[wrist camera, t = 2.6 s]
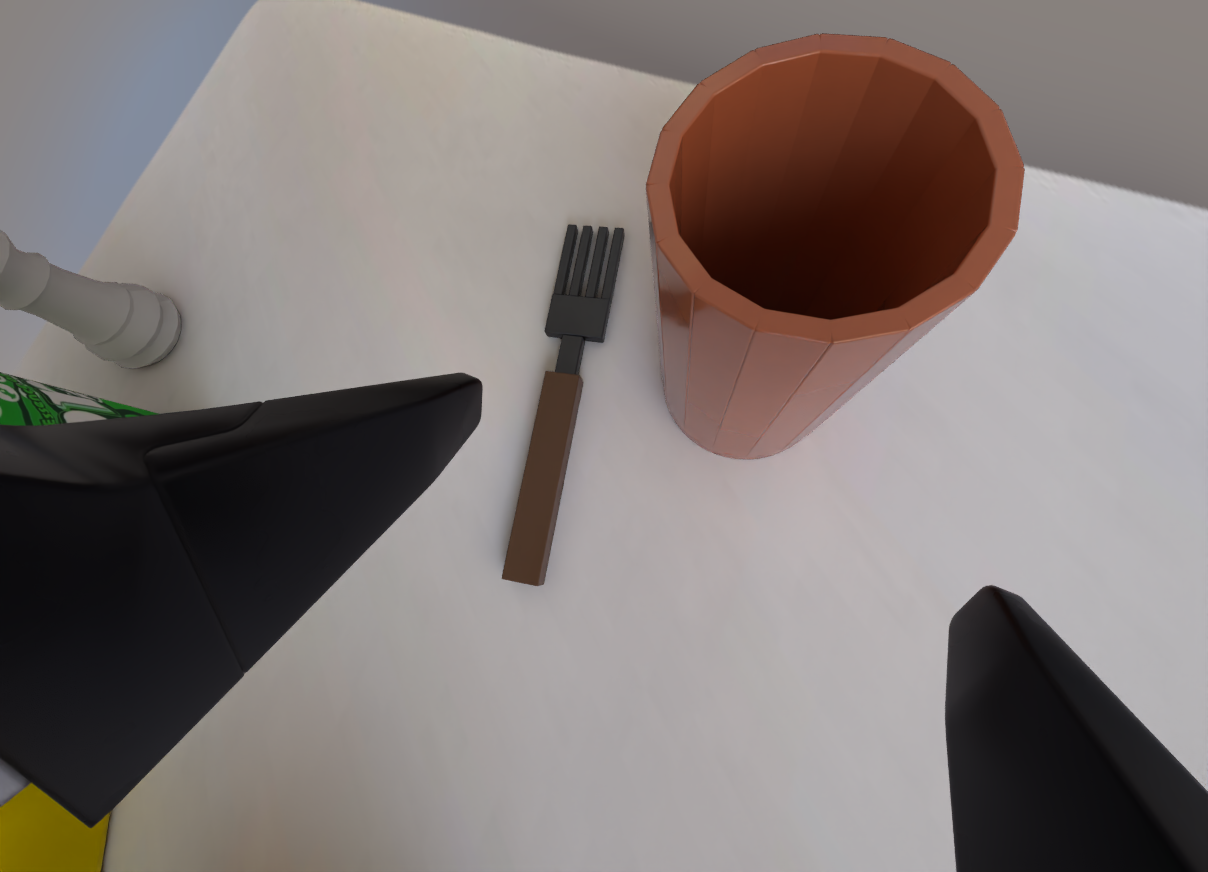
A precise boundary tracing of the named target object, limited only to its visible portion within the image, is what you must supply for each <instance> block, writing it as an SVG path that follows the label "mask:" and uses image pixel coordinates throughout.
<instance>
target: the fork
mask: <svg viewBox="0 0 1208 872" xmlns="http://www.w3.org/2000/svg"><path fill="white" fill-rule="evenodd" d="M577 234H578V229H577V226H576V225H570V224H569V225H568V228H567V233H566V237H565V242H564V247H563V251H562V256H561V260H560V265H559V270H558V274H557V279H556V284H555V288H554V293H553V295H552V299H551V304H550V309H549V313H548V318H547V322H546V327H545V333H546V335H547V336H548V337H557V338H562V340H561V345H560V350H559V355H558V359H557V364H556V369H555V372H551V371H546V372H545V377H544V381H543V386H542V391H541V395H540V400H539V405H538V409H537V414H536V419H535V424H534V428H533V433H532V438H531V442H530V447H529V452H528V457H527V461H526V466H525V471H524V475H523V480H522V485H521V489H520V494H519V499H518V504H517V508H516V513H515V518H514V522H513V527H512V532H511V536H510V541H509V546H508V551H507V555H506V560H505V565H504V569H503V574H502V579H505V580H510V581H514V582H519V583H524V584H529V585H534V586H539V585H543V584H544V581H545V576H546V571H547V566H548V560H549V555H550V550H551V545H552V540H553V535H554V530H555V525H556V520H557V515H558V509H559V504H560V499H561V494H562V489H563V484H564V479H565V474H566V469H567V463H568V458H569V453H570V448H571V443H572V438H573V433H574V428H575V423H576V418H577V412H578V407H579V402H580V397H581V392H582V387H583V381H582V379H581V377H580V375H578V374H579V369H580V364H581V359H582V354H583V349H584V344H585V341H592V342H601V343H603V342H604V339H605V334H606V328H607V323H608V318H609V313H610V307H611V303H612V297H613V292H614V287H615V282H616V276H617V271H618V266H619V261H620V255H621V250H622V245H623V240H624V229H623V228H615V230H614V235H613V240H612V246H611V251H610V256H609V261H608V266H607V271H606V276H605V281H604V287H603V292H602V297H601V298H596V297H597V292H598V286H599V281H600V276H601V271H602V266H603V261H604V256H605V251H606V246H607V241H608V236H609V231H608V227H599V231H598V236H597V241H596V246H595V251H594V256H593V261H592V266H591V270H590V275H589V280H588V285H587V290H586V295H585V297H583V296H580V295H581V290H582V285H583V280H584V275H585V270H586V265H587V261H588V256H589V251H590V246H591V241H592V236H593V229H592V226H583V231H582V235H581V240H580V245H579V250H578V254H577V259H576V264H575V269H574V273H573V278H572V283H571V288H570V293H569V295H565V291H566V286H567V282H568V277H569V272H570V267H571V263H572V258H573V253H574V248H575V244H576V239H577Z"/></svg>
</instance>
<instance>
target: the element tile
mask: <svg viewBox="0 0 1208 872" xmlns="http://www.w3.org/2000/svg"><path fill="white" fill-rule="evenodd" d="M110 812H111V811H110ZM110 812H109V813H108V814H107V815H106V816H105V817H104V818H103V819H102V820H101V821H100V822H98V823H97V824H96V825H95V826H94V827H93V828H89V827H87V826H86V825H85V824H84V823H82V822H81V821H80V820H78V819H77V818H76V817H75V816H73V815H72V814H71V813H69V812H68V811H67V810H66V809H64V808H63V807H62V806H60V805H59V804H58V803H57V802H55V801H54V800H53V799H51V798H50V797H49V796H48V795H46V794H45V793H44V792H42V791H41V790H40V789H39V788H37V787H36V786H35V785H34V784H32V783H31V784H29V785H28V786H27V787H26V788H24V789H23V790H22V791H21V792H19V793H18V794H17V795H16V796H14V797H13V798H12V799H11V800H9V801H8V802H7V803H6V804H4V805H3V806H2V807H1V808H0V872H101V867H102V861H103V855H104V849H105V843H106V836H107V830H108V824H109V818H110Z"/></svg>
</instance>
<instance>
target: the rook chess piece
mask: <svg viewBox="0 0 1208 872" xmlns="http://www.w3.org/2000/svg"><path fill="white" fill-rule="evenodd" d="M0 306H1V307H3V308H4V309H6V310H22V311H25V312H28V313H30V314H33V315H36V316H38V317H40V318H43V319H45V320H47V321H49V322H51V323H53V324H55V325H57V326H59V327H61V328H63V329H65V330H67V331H69V332H71V333H72V334H73V336H74V338H75V339H76V340H78V341H79V342H81V343H82V344H85V347H86V349H88V350H89V351H91V352H92V353H94V354H95V355H97V356H98V357H100V358H101V359H103V360H108V361H113V362H114V363H116V364H117V365H119V366H120V367H123V368H139V367H144V366H147V365H150V364H153V363H156V362H158V361H160V360H161V359H162V358H164V357H165V356H166V355H168V354H169V353H170V351H171V350H172V348H173V347H174V346H175V344H176V343H177V341H178V338H179V335H180V332H181V317H180V315H179V313H178V311H177V309H176V307H175V305H174V304H173V302H172V300H171V299H170V298H168V297H166V296H165V295H163V294H161V293H154V292H152V291H151V290H149V289H147V288H146V287H144V286H141V285H137V284H124V283H122V284H118V283H117V282H100V281H96V280H93V279H90V278H87V277H84V276H81V275H78V274H75V273H72V272H69V271H66V270H63V269H61V268H59V267H57V266H55V265H52V264H50V263H49V262H48V260H47V259H46V258H45V257H44V256H42V255H41V254H39V253H25V252H22V251H19V250H17V249H16V247H15V246H14V245H13V243H12V242H11V241H10V239H9V238H8V236H7V235H6V234H5V233H4V232H3V231H1V230H0Z"/></svg>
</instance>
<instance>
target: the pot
mask: <svg viewBox="0 0 1208 872" xmlns="http://www.w3.org/2000/svg"><path fill="white" fill-rule="evenodd" d="M1023 167H1024V164H1023V162H1022V159H1021V156H1020V154H1019V151H1018V149H1017V147H1016V144H1015V141H1014V139H1013V136H1012V134H1011V132H1010V129H1009V127H1008V125H1007V122H1006V119H1005V117H1004V114H1003V112H1002V110H1001V109H999V106H998V105H997V104H996V103H995V102H994V101H993V100H992V99H991V98H990V97H989V96H988V95H986V94H985V93H984V92H983V91H982V90H981V89H980V88H979V87H978V86H977V85H976V84H975V83H974V82H972V81H971V80H970V79H969V78H968V77H967V76H966V75H965V74H964V73H963V72H962V71H961V70H959V69H958V68H957V67H956V66H955V65H953V64H951V63H950V62H949V61H946V60H944V59H941V58H939V57H936V56H934V55H931V54H929V53H926V52H924V51H921V50H919V49H916V48H914V47H911V46H909V45H906V44H904V43H901V42H899V41H896V40H894V39H887V38H886V37H871V36H855V35H840V34H823V33H822V34H820V35H819V34H814V35H811V36H806V37H802V38H798V39H794V40H790V41H785V42H781V43H777V44H773V45H769V46H765V47H761V48H757V49H755V50H752V51H750V52H748V53H747V54H745V55H743V56H742V57H740V58H738V59H737V60H735V61H734V62H732V63H730V64H729V65H727V66H725V67H724V68H722V69H721V70H719V71H717V72H715V73H714V74H712V75H710V76H709V77H707V78H706V79H704V80H702V81H701V82H700V84H697V86H696V87H695V88H694V89H693V91H692V92H691V93H690V94H689V96H688V97H687V98H686V99H685V101H684V102H683V103H682V104H681V106H680V107H679V108H678V109H677V111H676V112H675V113H674V114H673V116H672V117H671V118H670V119H669V121H668V122H667V123H666V124H665V126H664V127H663V129H662V131H661V132H660V135H659V139H658V142H657V146H656V150H655V153H654V157H653V160H652V164H651V168H650V171H649V175H648V178H647V182H646V198H647V210H648V222H649V234H650V245H651V257H652V269H653V280H654V292H655V304H656V316H657V327H658V339H659V351H660V362H661V374H662V381H663V387H664V395H665V399H666V403H667V406H668V409H669V411H670V414H671V416H672V417H673V419H674V421H675V423H676V424H677V425H678V427H679V428H680V429H681V430H682V432H683V433H684V434H685V435H686V436H687V437H688V438H690V439H691V440H692V441H693V442H695V443H696V444H697V445H699V446H701V447H702V448H704V449H706V450H708V451H710V452H712V453H715V454H717V455H721V456H724V457H729V458H735V459H758V458H763V457H768V456H772V455H774V454H777V453H780V452H782V451H784V450H786V449H788V448H790V447H792V446H793V445H794V444H796V443H797V442H799V441H800V440H801V439H803V438H805V437H806V436H808V435H809V434H810V433H811V432H813V431H814V430H815V429H816V428H817V427H818V426H820V425H821V424H822V423H823V422H824V421H825V420H827V419H828V418H829V417H830V416H831V415H832V414H834V413H835V412H836V411H837V410H838V409H839V408H841V407H842V406H843V405H844V404H845V403H846V402H848V401H849V400H850V399H851V398H852V397H853V396H855V395H856V394H857V393H858V392H859V391H860V390H862V389H863V388H864V387H865V386H866V385H867V384H869V383H870V382H871V381H872V380H873V379H874V378H876V377H877V376H878V375H879V374H880V373H881V372H883V371H884V370H885V369H886V368H887V367H888V366H889V365H891V364H892V363H893V362H894V361H895V360H896V359H898V358H899V357H900V356H901V355H902V354H903V353H905V352H906V351H907V350H908V349H909V348H910V347H912V346H913V345H914V344H915V343H916V342H917V341H919V340H920V339H921V338H922V337H923V336H924V335H926V334H927V333H928V332H929V331H930V330H931V329H933V328H934V327H935V326H936V325H937V324H938V323H940V322H941V321H942V320H943V319H944V318H945V317H947V316H948V315H949V314H950V313H951V312H952V311H954V310H955V309H956V308H957V307H958V306H959V305H961V304H962V303H963V302H964V301H965V300H966V299H968V298H969V297H970V296H971V295H972V294H973V293H974V292H975V291H977V290H978V289H979V287H980V286H981V284H982V283H983V281H984V280H985V278H986V277H987V276H988V274H989V273H990V271H991V270H992V268H993V267H994V265H995V264H996V263H997V261H998V260H999V258H1000V257H1001V255H1002V254H1003V252H1004V251H1005V250H1006V248H1007V247H1008V245H1009V244H1010V242H1011V241H1012V239H1013V238H1014V237H1015V234H1016V232H1017V229H1018V221H1019V213H1020V205H1021V196H1022V188H1023V179H1024V171H1025V169H1024V168H1023Z"/></svg>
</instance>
